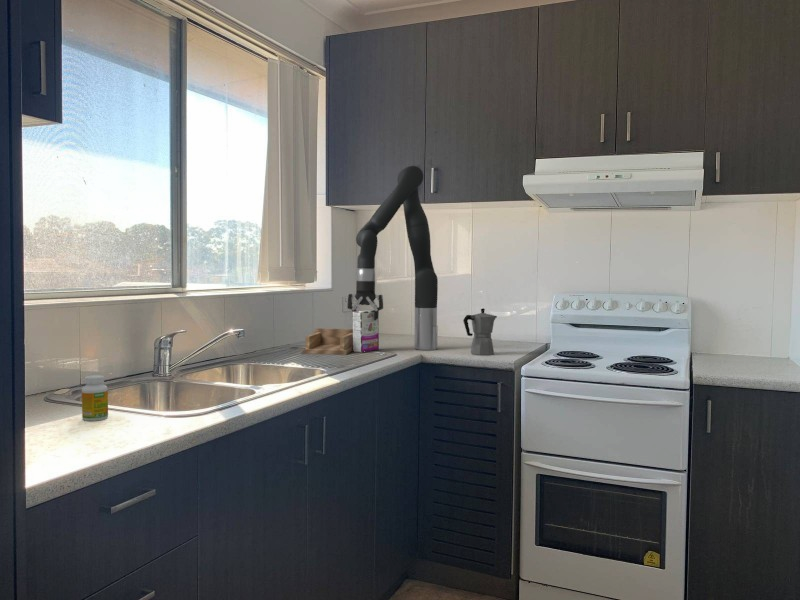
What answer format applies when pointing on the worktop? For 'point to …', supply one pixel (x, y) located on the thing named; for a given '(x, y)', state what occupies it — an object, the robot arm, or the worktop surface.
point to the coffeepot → (481, 332)
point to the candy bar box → (365, 331)
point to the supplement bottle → (94, 399)
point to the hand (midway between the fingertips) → (365, 320)
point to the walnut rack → (329, 341)
